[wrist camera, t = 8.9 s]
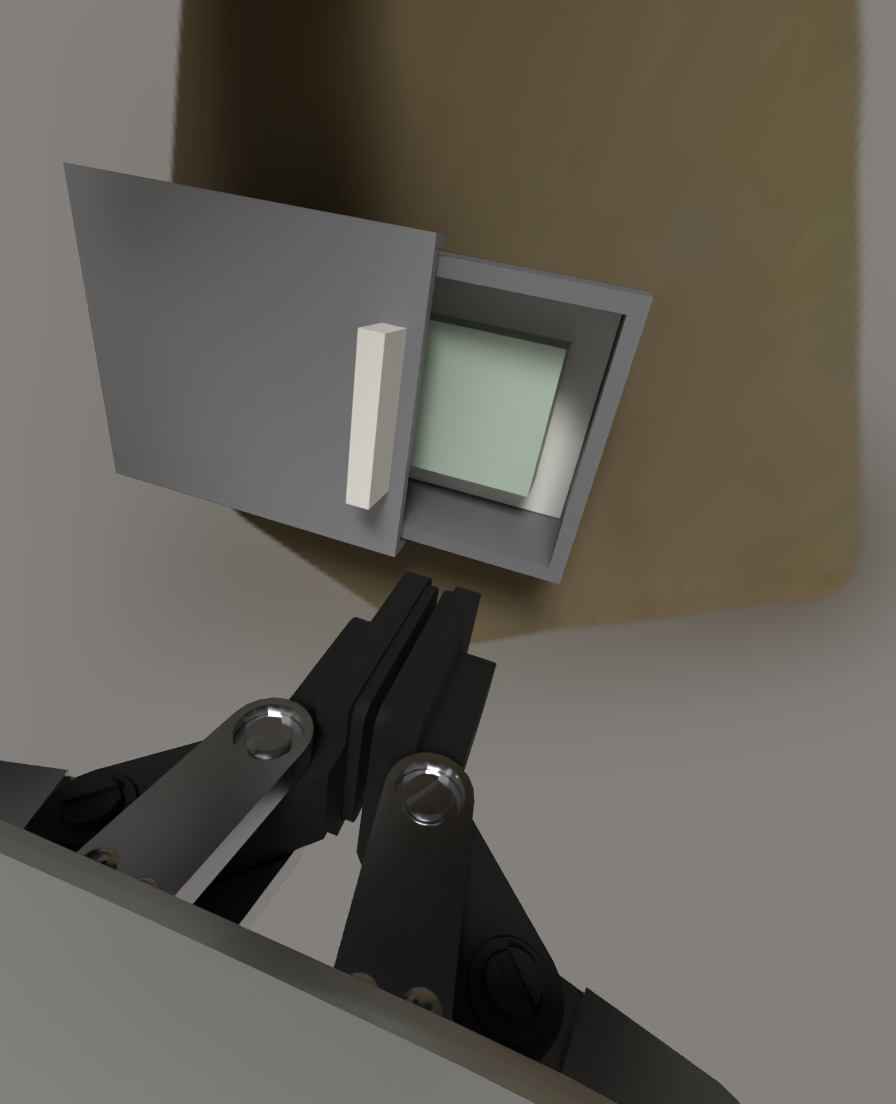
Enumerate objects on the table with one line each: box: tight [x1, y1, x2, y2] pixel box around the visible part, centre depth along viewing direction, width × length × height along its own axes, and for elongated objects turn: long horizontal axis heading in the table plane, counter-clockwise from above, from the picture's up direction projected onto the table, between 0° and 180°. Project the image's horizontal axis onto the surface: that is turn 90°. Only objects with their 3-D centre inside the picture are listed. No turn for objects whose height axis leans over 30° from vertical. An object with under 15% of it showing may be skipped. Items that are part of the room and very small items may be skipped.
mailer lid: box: [64, 163, 448, 557], centre depth 27 cm, size 16×18×4 cm
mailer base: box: [401, 251, 653, 584], centre depth 29 cm, size 14×18×7 cm
